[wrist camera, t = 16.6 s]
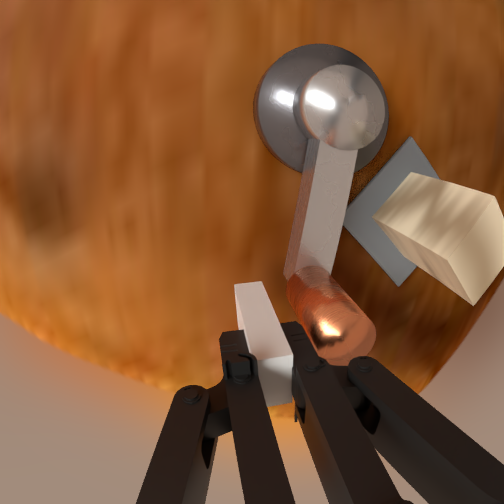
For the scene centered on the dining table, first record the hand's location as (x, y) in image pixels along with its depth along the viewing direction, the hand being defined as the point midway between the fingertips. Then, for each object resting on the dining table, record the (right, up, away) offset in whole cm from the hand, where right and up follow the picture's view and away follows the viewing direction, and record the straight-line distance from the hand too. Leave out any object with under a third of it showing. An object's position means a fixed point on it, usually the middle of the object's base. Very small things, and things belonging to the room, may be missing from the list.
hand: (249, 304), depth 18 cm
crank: (+4, +7, +2) cm, 8 cm away
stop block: (+13, +6, +6) cm, 15 cm away
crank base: (+5, +13, +2) cm, 14 cm away
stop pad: (+13, +6, +6) cm, 15 cm away
